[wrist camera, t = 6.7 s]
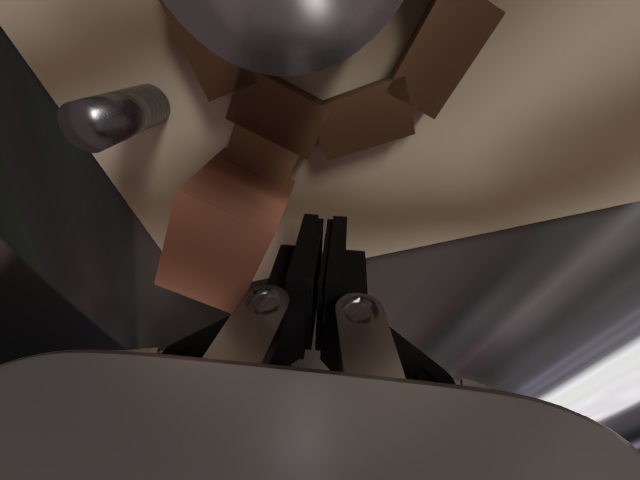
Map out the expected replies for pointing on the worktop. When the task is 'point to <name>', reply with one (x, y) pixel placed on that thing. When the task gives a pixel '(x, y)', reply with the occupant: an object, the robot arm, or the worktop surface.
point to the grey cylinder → (234, 55)
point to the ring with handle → (297, 144)
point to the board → (393, 157)
